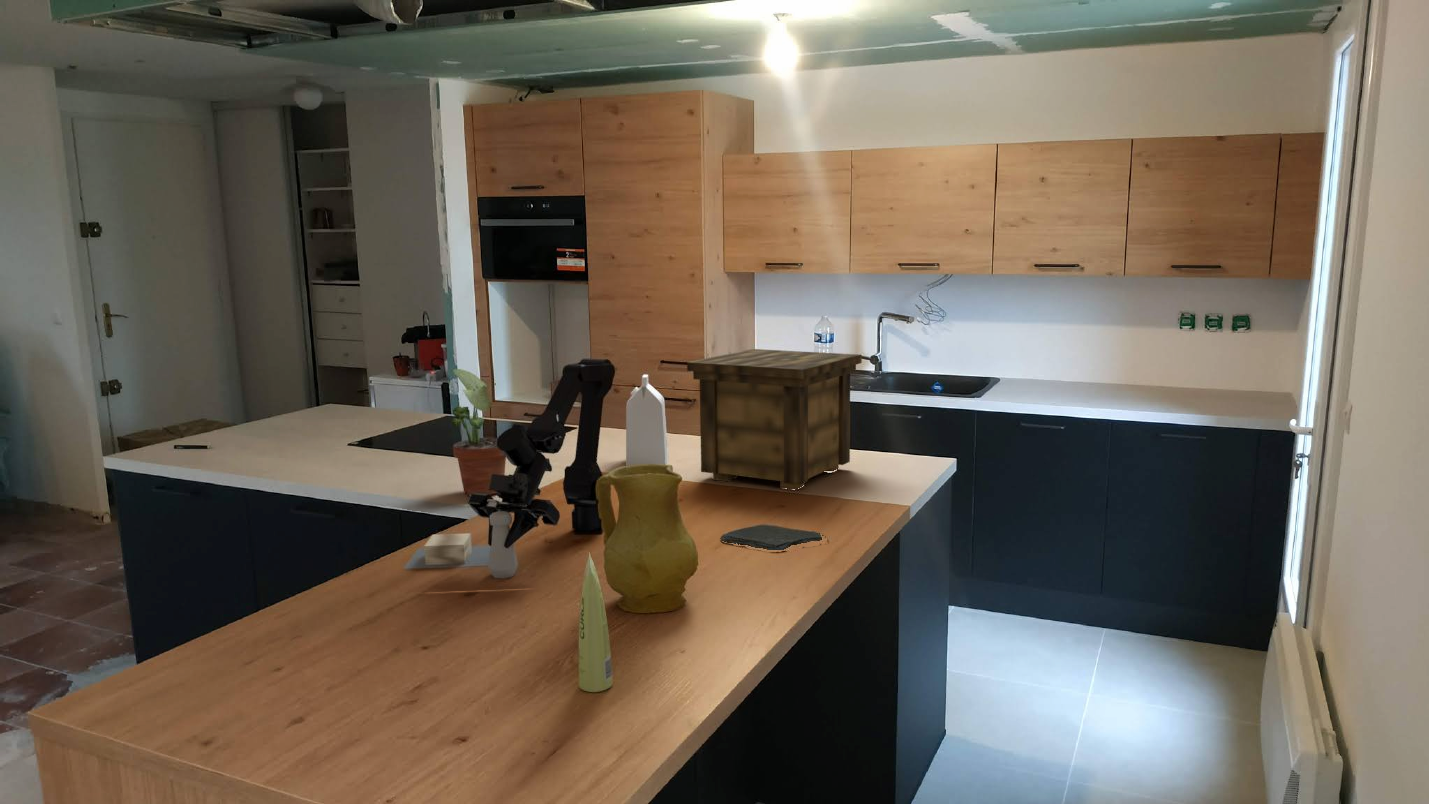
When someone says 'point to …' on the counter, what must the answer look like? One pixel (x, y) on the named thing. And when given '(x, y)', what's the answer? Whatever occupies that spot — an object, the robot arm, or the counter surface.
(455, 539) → the beech block
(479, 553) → the mat
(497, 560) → the salt shaker
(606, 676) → the tube
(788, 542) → the stone slab
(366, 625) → the counter surface
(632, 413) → the milk
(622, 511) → the pitcher
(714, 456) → the crate
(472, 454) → the potted plant
